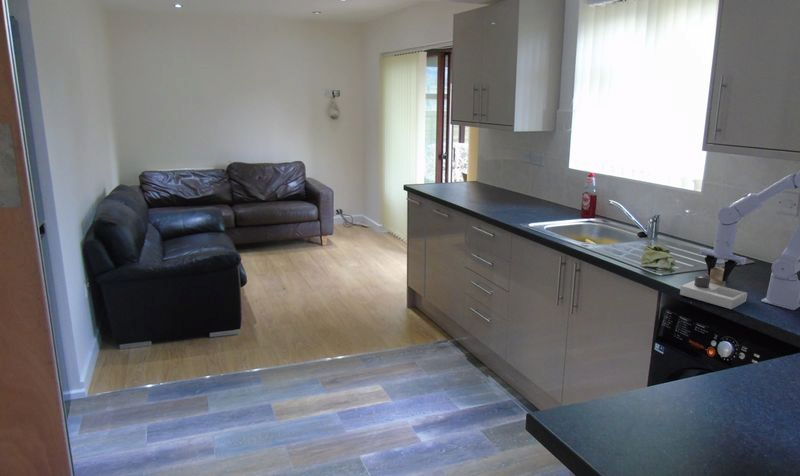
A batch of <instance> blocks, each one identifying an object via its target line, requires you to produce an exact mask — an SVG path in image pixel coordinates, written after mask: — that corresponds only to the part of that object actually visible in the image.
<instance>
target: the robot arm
mask: <svg viewBox="0 0 800 476" xmlns="http://www.w3.org/2000/svg"><path fill="white" fill-rule="evenodd" d="M796 189H799V190H800V170H799V171H798V172H794V173H792V174H789V175H787V176H785V177H783V178H781V179H780V180H778V181H777V182H775V183H773V184H772V185H770V186H769V187H767V188H765V189H764V190H761V191H760V192H758V193H753V192H750V193H749V194H748V193H744V194H743V195H742V198H740V199H738V200H737V201H733V202H730V203H729V206H724V207H722V209H720V210H719V211H718V213H717V219H718V226H717V228H716V229H717V230H716V234H715V238H714V239H715V240H714V244H713V245H714V246H713V249H706V248H699V251H698V255H700V256H705V257H704V261H705V263H706V268H707V267H708V274H709V277H710V272H711V269H712V268H714V267H715V265H716V262H717V259H718V258H719V259H723V260H724V268H723V269H724V275H723V281H724V282H725V281H726V282H728V281H727V280H728V279H729V277H730V274H731V273H732V271H733V270H734V269H735V268H736V266H737V265H738V264H739V265H745V264H746V263H747V257H743V256H739V255H735V254H734V253H733V252H734V247H735V241H736V235H737V232H738V225H739V222H740V221H741V220H742V218H746V217H747V216H749V215H750V214H752V213H754V212H756V211H758V210H760V209H762V208H763V205H764V202H766V201H768V200H770V199H772V198H774V197H776V196H777V195H779V194H781V193H783V192H785V191H786V190H796ZM770 269H771V274H770V280H769V283H768V288H767V292H766V297H764V298H762V299H761V302H762V303H766V304H770V305H773V306H776V307H781V308H784V309H788V310H791V311H795V310H797V309H798V308H800V280H799V277H798V274H797V273H798V272H799V271H800V222H799V223H798V224H797V226H796V228H795V231H794V232H793V234H792V236H791V238H790V240H789V242H788V244H787V245H786V247H785V249H784V250H783V252H781V254H780V256H779V258H778V259H776V260H774V262H773V263H772V264H771V268H770Z"/></svg>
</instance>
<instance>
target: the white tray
mask: <svg viewBox="0 0 800 476" xmlns="http://www.w3.org/2000/svg"><path fill="white" fill-rule="evenodd" d="M679 295H680V296H684V297H688V298H691V299H694V300H697V301H702V302H705V303H708V304H712V305H715V306H719V307H723V308H725V309H728V310H733V309H734V308H736V307H738V306H740V305H742V304H744V303H745V302H747V296H748V292H745V291H741V290H737V289H734V288H730V287H726V286H724V287H723V286H720V285H716V284H712V283H710V278H709V277H708V276H707V275H703V274H702V275H701V274H698V275H695V279H694V280H692V281H690V282H687V283H685V284H682V285H680V291H679Z"/></svg>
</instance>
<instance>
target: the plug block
mask: <svg viewBox="0 0 800 476" xmlns="http://www.w3.org/2000/svg"><path fill="white" fill-rule="evenodd" d="M724 269H725V268H723V269H722V268H718V267H714V268H712V269H711V272H710V277H709V278H710V283H712V284H716V285H720V286H723V287H726V282H727V281H725V282H724V281H723V275H724Z"/></svg>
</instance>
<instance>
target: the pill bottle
mask: <svg viewBox="0 0 800 476" xmlns="http://www.w3.org/2000/svg"><path fill="white" fill-rule="evenodd" d="M715 267H718V268H722V269H724V267H725V260H723V259H719V258H718V259H717V262H716V265H715ZM705 276H707V277H709V274H708V267H707V266H706V271H705Z"/></svg>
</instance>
